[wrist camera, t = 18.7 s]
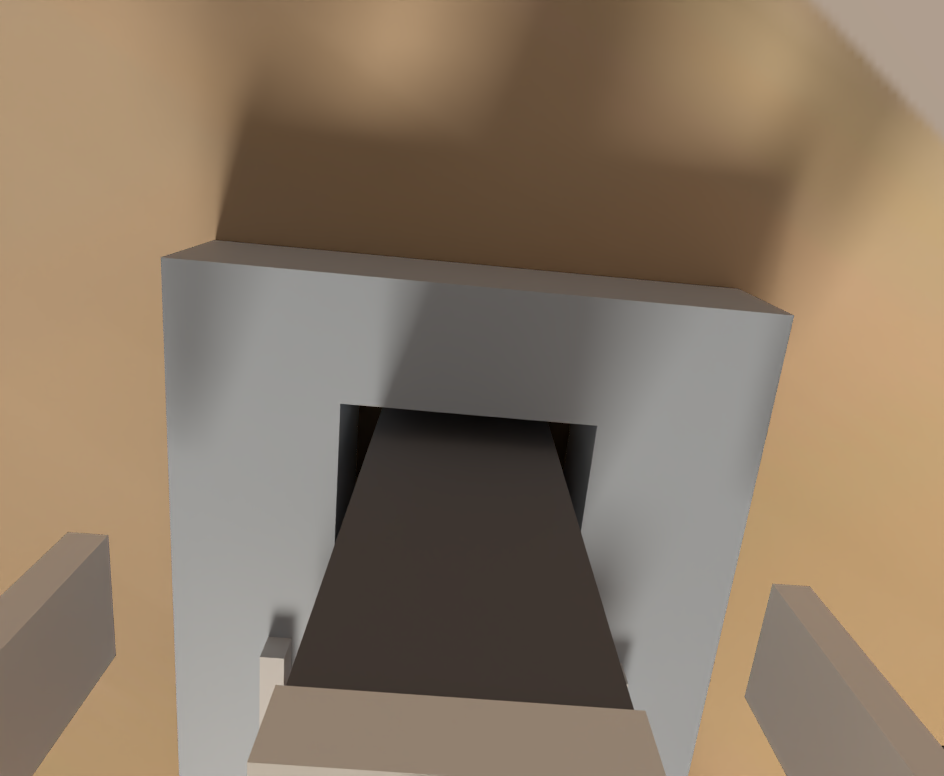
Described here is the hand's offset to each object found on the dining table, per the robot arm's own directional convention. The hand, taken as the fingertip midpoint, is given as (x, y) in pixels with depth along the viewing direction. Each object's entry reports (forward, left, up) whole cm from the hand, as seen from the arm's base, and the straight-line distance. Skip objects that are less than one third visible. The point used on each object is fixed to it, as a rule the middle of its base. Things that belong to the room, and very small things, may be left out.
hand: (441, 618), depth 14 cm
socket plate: (0, -3, -7) cm, 8 cm away
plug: (0, 0, -7) cm, 7 cm away
